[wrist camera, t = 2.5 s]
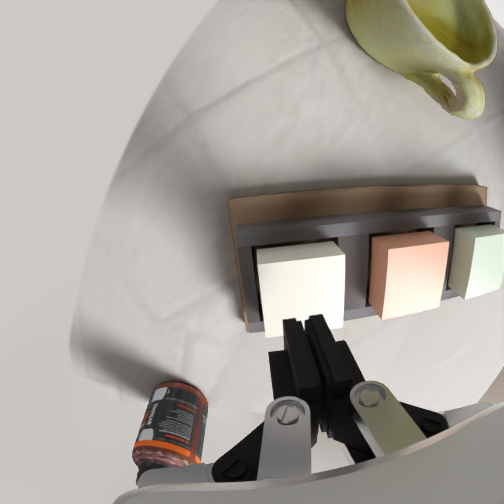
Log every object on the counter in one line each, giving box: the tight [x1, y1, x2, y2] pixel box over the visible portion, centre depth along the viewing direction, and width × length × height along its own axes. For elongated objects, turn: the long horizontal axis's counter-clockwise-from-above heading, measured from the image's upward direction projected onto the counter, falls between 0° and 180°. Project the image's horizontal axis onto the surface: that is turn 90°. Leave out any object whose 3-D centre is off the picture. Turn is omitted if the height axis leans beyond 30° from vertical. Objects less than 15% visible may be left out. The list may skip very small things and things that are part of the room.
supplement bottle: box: [132, 382, 208, 486], centre depth 20 cm, size 6×6×11 cm
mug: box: [345, 0, 497, 119], centre depth 11 cm, size 12×10×10 cm
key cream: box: [257, 241, 345, 338], centre depth 16 cm, size 5×5×2 cm
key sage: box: [448, 224, 504, 300], centre depth 15 cm, size 5×5×2 cm
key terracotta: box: [368, 231, 449, 320], centre depth 16 cm, size 5×5×2 cm
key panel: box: [228, 185, 501, 333], centre depth 18 cm, size 22×10×4 cm, turn 96°
